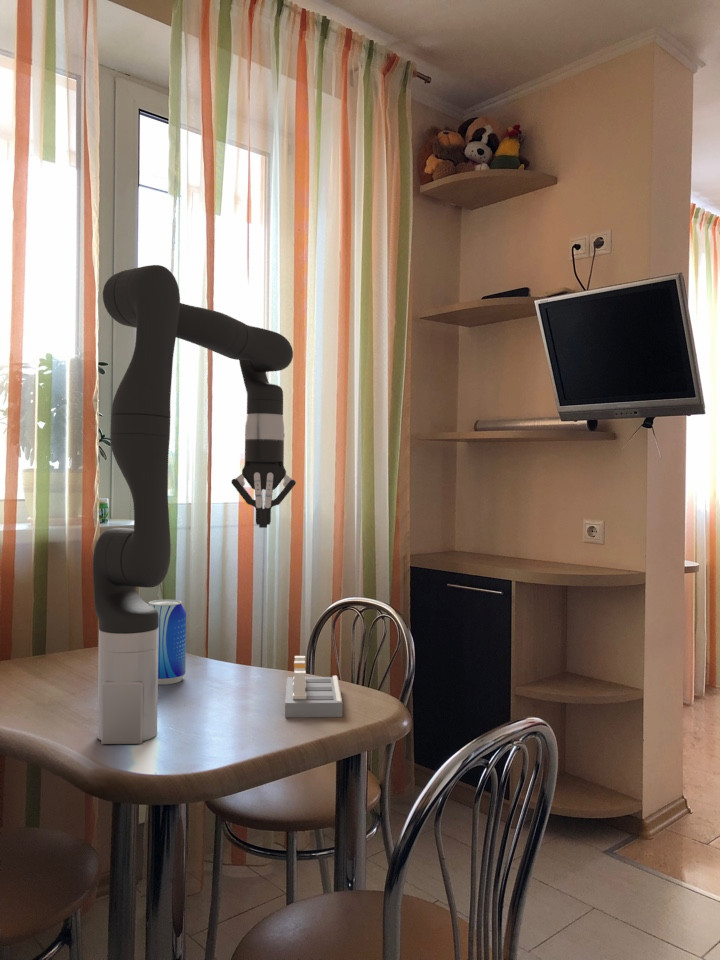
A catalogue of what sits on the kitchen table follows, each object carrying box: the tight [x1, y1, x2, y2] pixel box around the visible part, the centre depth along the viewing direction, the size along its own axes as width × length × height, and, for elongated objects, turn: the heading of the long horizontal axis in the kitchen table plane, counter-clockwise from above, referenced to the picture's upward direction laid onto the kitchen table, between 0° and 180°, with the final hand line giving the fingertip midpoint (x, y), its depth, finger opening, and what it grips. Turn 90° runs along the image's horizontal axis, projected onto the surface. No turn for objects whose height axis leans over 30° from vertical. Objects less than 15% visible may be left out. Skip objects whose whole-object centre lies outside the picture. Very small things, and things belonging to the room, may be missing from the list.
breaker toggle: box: [293, 660, 306, 688], centre depth 150 cm, size 2×2×5 cm
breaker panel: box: [284, 655, 343, 718], centre depth 150 cm, size 18×10×7 cm, turn 4°
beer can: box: [148, 599, 187, 686], centre depth 165 cm, size 8×8×16 cm
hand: (263, 527), depth 157 cm, fingers closed
